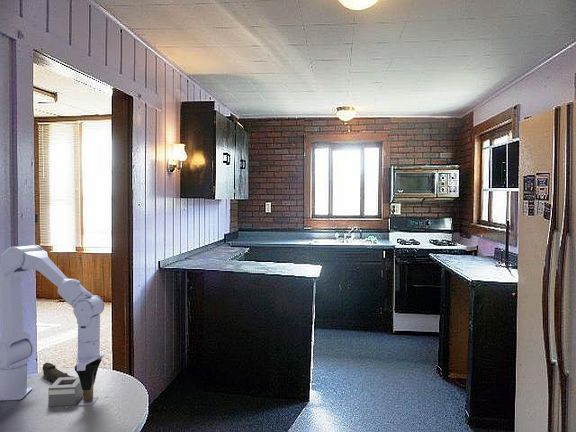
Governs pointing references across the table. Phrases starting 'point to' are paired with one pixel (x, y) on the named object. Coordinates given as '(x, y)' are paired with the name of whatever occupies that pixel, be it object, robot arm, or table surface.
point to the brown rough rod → (53, 372)
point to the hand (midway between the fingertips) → (88, 387)
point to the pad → (88, 402)
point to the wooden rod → (88, 393)
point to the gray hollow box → (65, 391)
